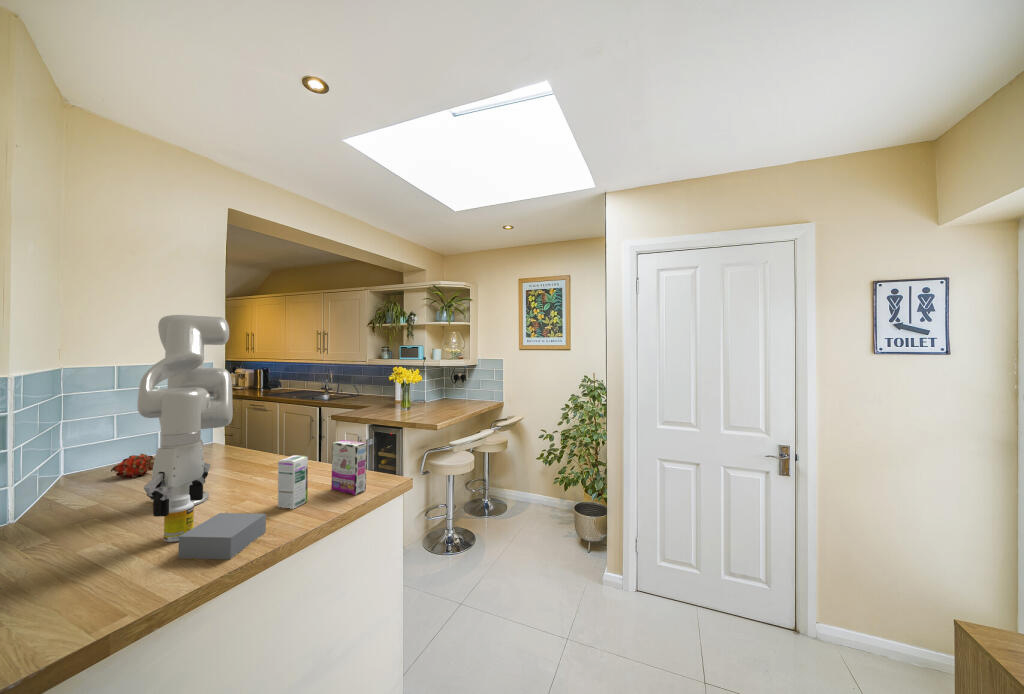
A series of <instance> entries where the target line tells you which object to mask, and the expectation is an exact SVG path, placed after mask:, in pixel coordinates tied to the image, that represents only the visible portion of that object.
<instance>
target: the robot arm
mask: <svg viewBox="0 0 1024 694" xmlns="http://www.w3.org/2000/svg"><path fill="white" fill-rule="evenodd" d="M157 329H158V335H159V340H160V342H161V345H162V347H163V349H164V351H165V353H164V355H165V356H164V358H162V359H161V360H159V361H158V362H156V363H155V364H153V365H152V366H151V367H150V368H149V369H148V370H146V372H145V373H144V374H143V376H142V378H141V379H140V383H139V386H138V387H139V388H138V395H137V402H136V403H137V408H136V409H137V413H139V415H140V416H141V417H143V418H146V419H156V418H158V420H159V426H160V427H159V428H160V447H159V448H157V450H156V453H155V456H154V458H155V460H154V465H153V470H152V471H151V473H152V474H151V479H150V481H148V482H147V483H146V484H145V485H144V486H143V489H144V491H145V493H146V496H147V497H148V498H149V499H150V501H153V507H152V508H153V512H152V513H153V514H152V516H153V517H156V518H157V517H158V518H159V517H164V516H167V515H168V514H169V499H170V498H172V497H174V496H177V495H183V494H189V495H190V501H191V502H193V503H194V506H197V505H199V504H202V503H203V502H205V501H207V500H208V499H209V497H210V495H209V492H208V491H204V484H205V483H206V479H207V477H208V475H209V472H210V469H211V464H210V463H208V462H205V460H204V441H203V440H202V438H201V436H202V435H201V433H202V431H201V430H206V429H207V430H208V429H217V428H223V427H224V428H225V427H227V426H229V425H230V424H231V423H232V422H233V421H232V420H233V413H234V412H233V411H234V410H233V409H234V408H233V407H234V405H233V382H232V381H233V380H232V376H231V373H230V371H228V369H226V368H220V367H210V368H209V367H206V368H205V367H204V361H205V346H207V345H208V346H224V345H225V344H227V343H228V341H229V338H230V327H229V323H228V321H227V319H225V318H224V317H221V316H209V315H208V316H205V315H195V314H194V315H193V314H190V315H189V314H171V315H166V316H163V317H161V318H160V319H159V321H158V325H157ZM164 380H167V383H166V384H167V388H165V387H164V388H156V387H157V385H158V384H160V383H161V382H163V381H164Z"/></svg>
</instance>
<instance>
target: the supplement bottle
mask: <svg viewBox="0 0 1024 694" xmlns="http://www.w3.org/2000/svg"><path fill="white" fill-rule="evenodd" d="M194 511H195V505H194V503H193V502H191V501H190V495H189V494H183V495H177V496H174V497H172V498H170V499H169V514H168V515H167V516H163V520H164V521H163V541H165V542H167V543H174V542H175V543H176V542H179V536H181V535H182V534H184V533H186V532H188V531H189V530H191V529H193V528H194V519H195V518H194V517H195V516H194V515H195V512H194Z"/></svg>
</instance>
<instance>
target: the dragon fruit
mask: <svg viewBox="0 0 1024 694" xmlns="http://www.w3.org/2000/svg"><path fill="white" fill-rule="evenodd" d="M154 460H155V457H153V455H147V454H145V453H140V454H139V455H136V454H135V455H129V456H128V458H123V460H122V461H121V462H120V463H117V464H116V465H115V466H113V467H112V468H111V469H110V472H115V476H117V477H120V478H125V477H126V478H130V477H132V478H133V479H134V478H136V477H138V476H145V475H146V474H147V472H149V471H151V472H152V471H153V465H154Z"/></svg>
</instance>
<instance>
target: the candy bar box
mask: <svg viewBox="0 0 1024 694" xmlns="http://www.w3.org/2000/svg"><path fill="white" fill-rule="evenodd" d="M367 446H368V443H367V442H360V441H355V440H346V439H342V440H337V441H334V442H332V446H331V447H332V448H331V449H332V450H331V451H332V452H331V457H332V458H331V486H330V487H331V491H333V490H335V491H334V492H338V491H339V493H342V492H343V494H348V495H351V496H352V495H353V496H357V495H359V494H362V493H365V491H367V490H366V489H367V453H368V452H367V450H368V448H367Z"/></svg>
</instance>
